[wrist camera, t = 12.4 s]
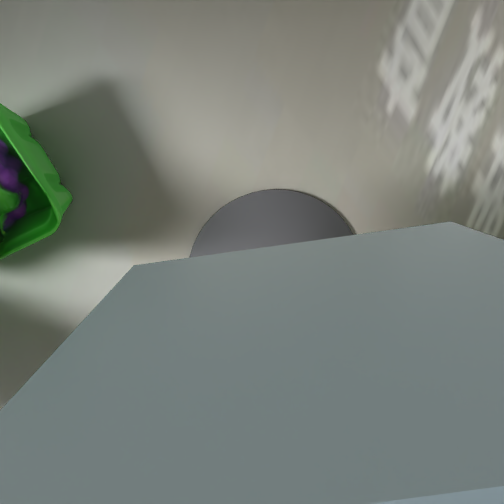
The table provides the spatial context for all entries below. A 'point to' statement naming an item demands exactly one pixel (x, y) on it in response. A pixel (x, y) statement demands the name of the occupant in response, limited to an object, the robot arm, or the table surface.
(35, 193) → the fruit basket
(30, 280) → the table surface
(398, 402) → the pale blue cube
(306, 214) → the disc
